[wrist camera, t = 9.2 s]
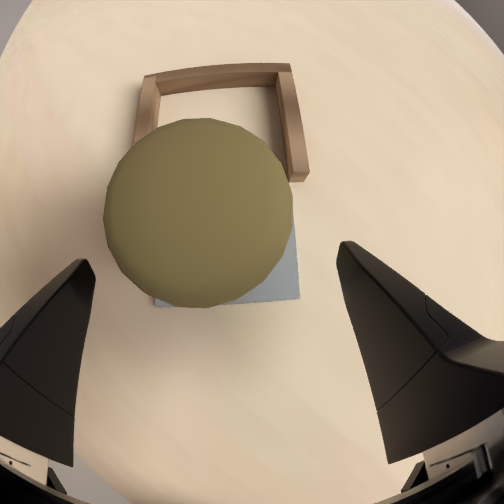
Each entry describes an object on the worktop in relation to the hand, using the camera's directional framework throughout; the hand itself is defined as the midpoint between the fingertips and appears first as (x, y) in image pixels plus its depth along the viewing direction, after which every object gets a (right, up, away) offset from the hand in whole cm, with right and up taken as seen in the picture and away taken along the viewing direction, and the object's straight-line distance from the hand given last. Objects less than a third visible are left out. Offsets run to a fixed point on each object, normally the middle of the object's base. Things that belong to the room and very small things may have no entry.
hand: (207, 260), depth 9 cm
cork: (0, 0, +8) cm, 8 cm away
